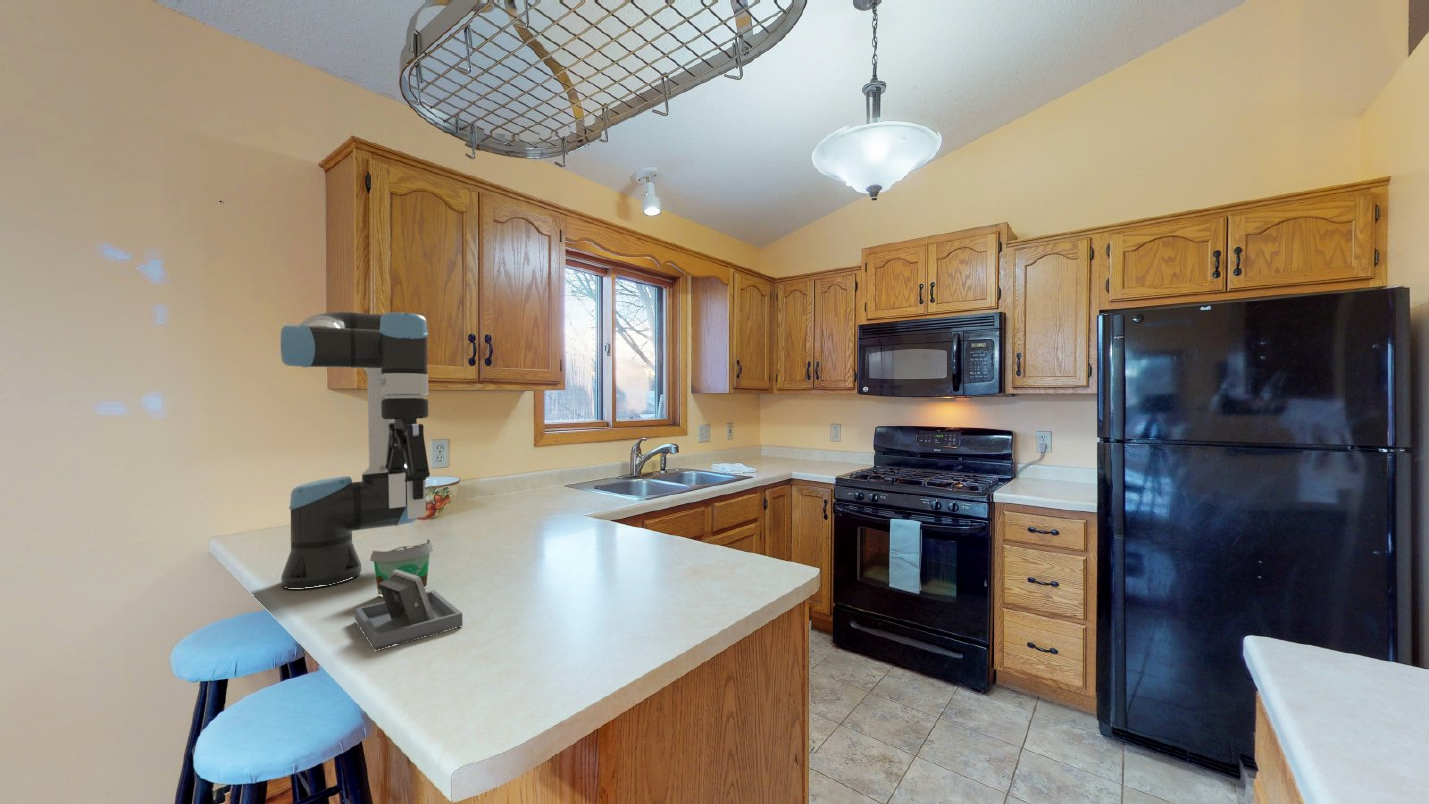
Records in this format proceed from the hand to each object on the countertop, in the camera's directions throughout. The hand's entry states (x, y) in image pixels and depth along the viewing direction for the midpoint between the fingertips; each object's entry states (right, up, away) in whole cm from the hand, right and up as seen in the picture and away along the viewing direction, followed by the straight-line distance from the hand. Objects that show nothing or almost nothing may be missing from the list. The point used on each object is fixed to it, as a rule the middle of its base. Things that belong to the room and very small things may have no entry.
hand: (406, 512), depth 98 cm
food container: (-9, -21, +17) cm, 29 cm away
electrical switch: (+1, -20, -1) cm, 20 cm away
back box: (0, -21, 0) cm, 21 cm away
